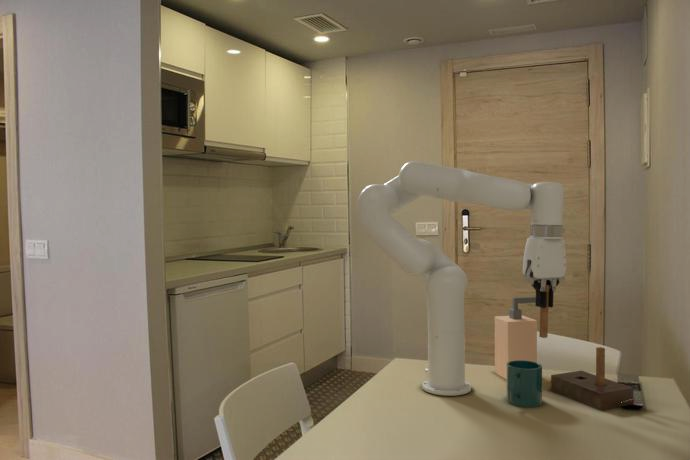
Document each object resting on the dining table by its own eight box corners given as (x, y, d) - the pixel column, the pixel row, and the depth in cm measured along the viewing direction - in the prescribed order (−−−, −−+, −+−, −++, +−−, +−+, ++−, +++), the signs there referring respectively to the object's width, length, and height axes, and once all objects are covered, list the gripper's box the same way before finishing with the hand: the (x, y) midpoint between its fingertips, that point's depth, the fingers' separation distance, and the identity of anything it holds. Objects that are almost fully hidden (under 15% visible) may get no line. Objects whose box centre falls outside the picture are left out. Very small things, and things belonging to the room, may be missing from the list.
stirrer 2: (595, 400, 141) (596, 347, 140) (600, 399, 141) (600, 346, 141) (600, 402, 139) (600, 348, 139) (604, 401, 140) (605, 348, 139)
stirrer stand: (550, 390, 149) (550, 374, 149) (581, 385, 153) (581, 370, 153) (600, 410, 134) (600, 393, 134) (633, 404, 137) (633, 387, 137)
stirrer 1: (539, 336, 144) (540, 284, 143) (543, 336, 144) (545, 284, 143) (543, 338, 142) (544, 285, 142) (547, 337, 143) (549, 285, 142)
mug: (514, 393, 146) (514, 358, 146) (546, 400, 141) (546, 363, 141) (495, 406, 137) (495, 368, 137) (529, 413, 132) (529, 374, 132)
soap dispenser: (508, 381, 157) (508, 300, 156) (494, 372, 166) (494, 296, 165) (551, 378, 159) (551, 299, 159) (535, 369, 168) (535, 294, 167)
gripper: (559, 231, 149) (557, 302, 149) (510, 231, 142) (508, 306, 143) (582, 233, 142) (579, 307, 142) (531, 233, 136) (529, 311, 136)
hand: (544, 306), depth 143 cm, fingers closed on stirrer 1, 1 cm apart
